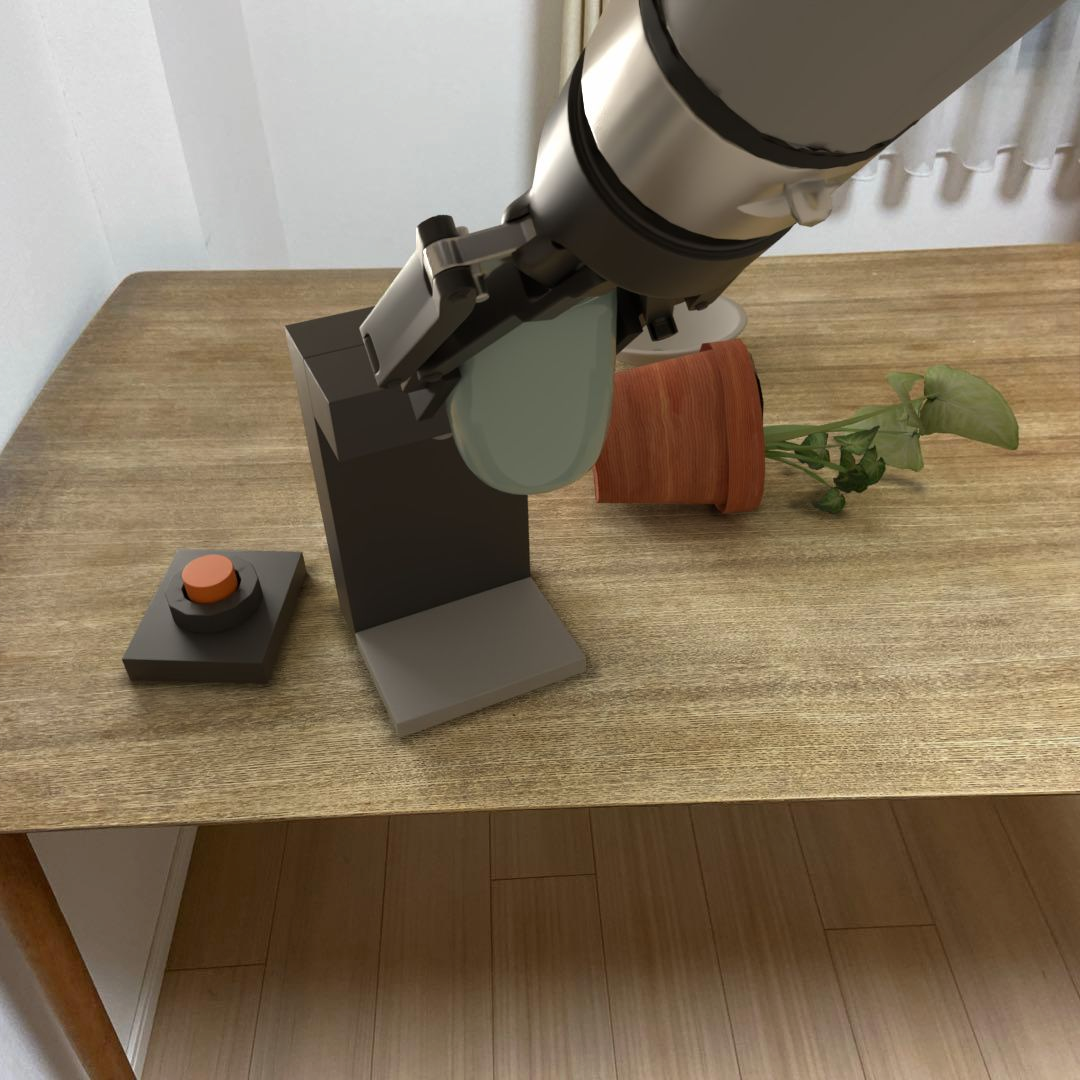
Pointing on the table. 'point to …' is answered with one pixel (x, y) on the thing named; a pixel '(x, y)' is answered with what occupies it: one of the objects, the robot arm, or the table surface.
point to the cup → (539, 400)
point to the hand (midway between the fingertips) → (499, 371)
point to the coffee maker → (419, 543)
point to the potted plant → (770, 431)
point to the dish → (688, 333)
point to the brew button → (209, 579)
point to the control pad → (218, 622)
